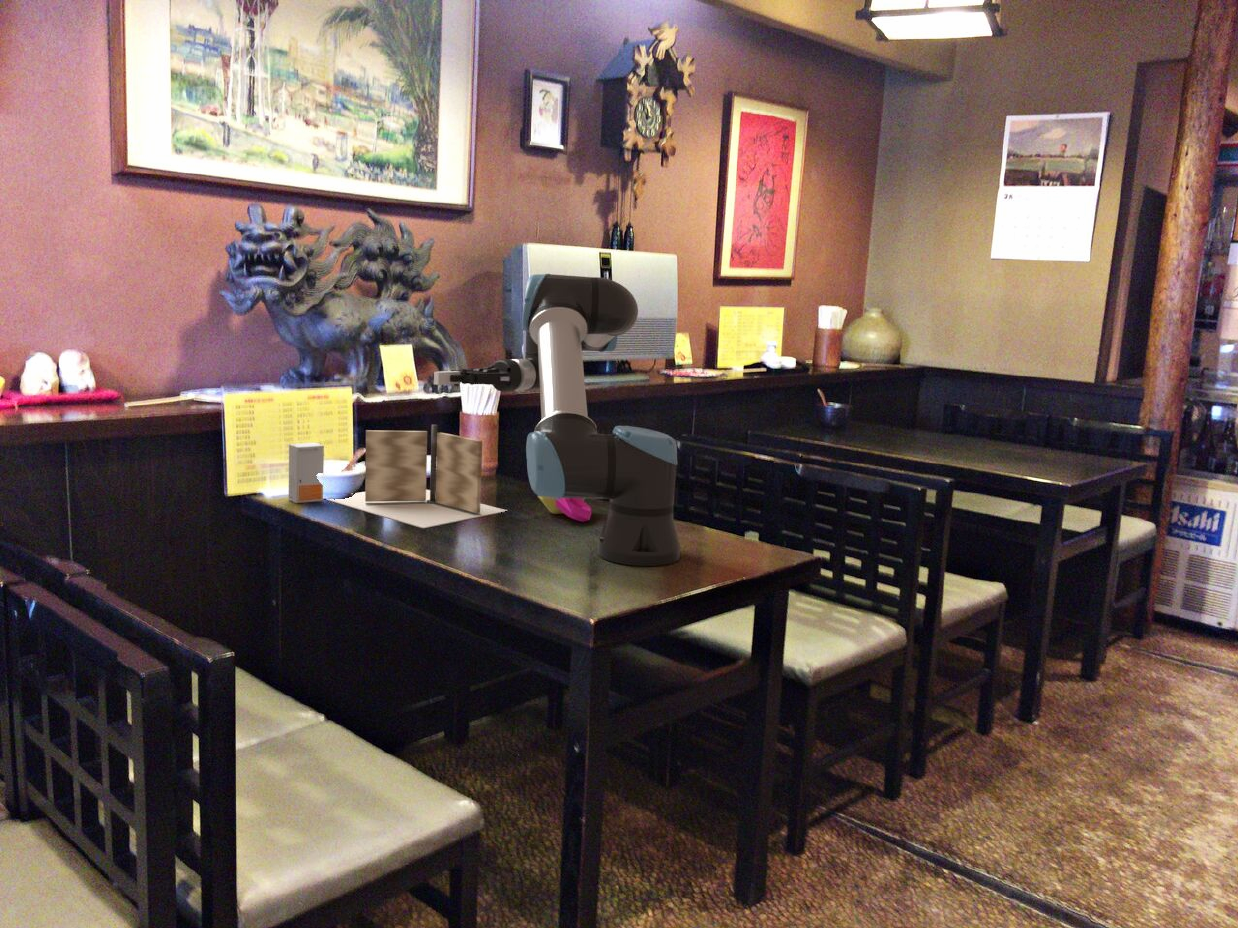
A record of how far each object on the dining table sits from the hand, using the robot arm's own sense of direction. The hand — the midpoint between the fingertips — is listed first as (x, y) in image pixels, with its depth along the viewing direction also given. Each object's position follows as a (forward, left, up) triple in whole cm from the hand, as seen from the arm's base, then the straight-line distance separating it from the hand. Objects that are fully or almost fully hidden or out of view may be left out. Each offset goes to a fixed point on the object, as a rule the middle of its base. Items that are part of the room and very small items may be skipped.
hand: (436, 378), depth 219 cm
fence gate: (-3, +13, -25) cm, 28 cm away
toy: (-31, -8, -26) cm, 42 cm away
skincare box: (+11, +26, -26) cm, 38 cm away
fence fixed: (-14, +7, -26) cm, 30 cm away
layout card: (-6, +11, -26) cm, 29 cm away
